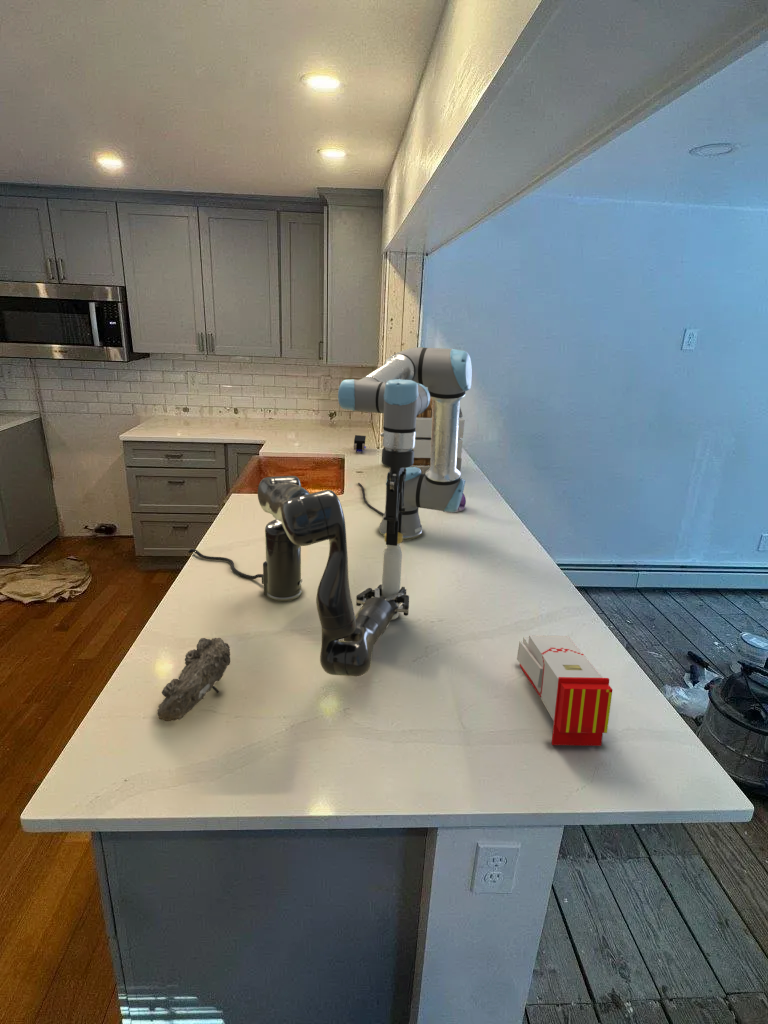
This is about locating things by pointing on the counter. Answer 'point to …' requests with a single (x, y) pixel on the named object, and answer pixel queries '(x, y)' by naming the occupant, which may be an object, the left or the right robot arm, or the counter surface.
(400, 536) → the cap
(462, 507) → the figurine
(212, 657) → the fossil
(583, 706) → the toy
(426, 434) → the white slatted box
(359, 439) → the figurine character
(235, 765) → the counter surface
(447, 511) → the right robot arm
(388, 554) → the bottle
